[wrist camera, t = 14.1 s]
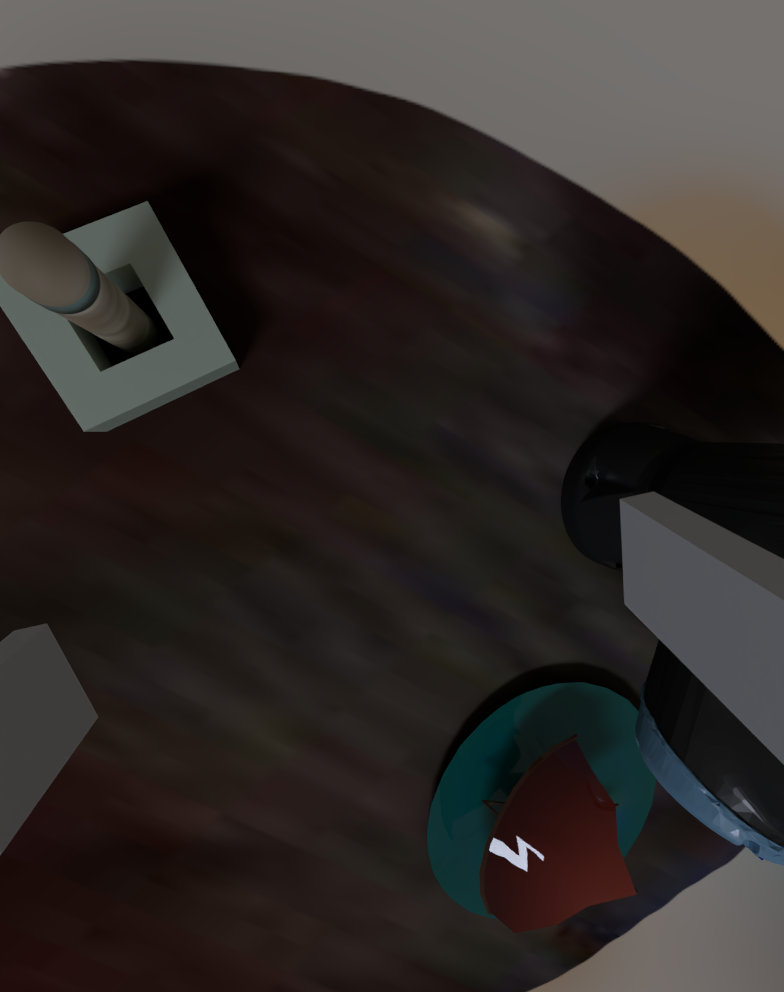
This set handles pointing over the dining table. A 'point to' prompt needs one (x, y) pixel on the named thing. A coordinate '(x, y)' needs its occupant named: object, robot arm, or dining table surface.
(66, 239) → the tan cylinder
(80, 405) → the grey square-hole block
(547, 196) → the dining table surface
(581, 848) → the red and teal hat
